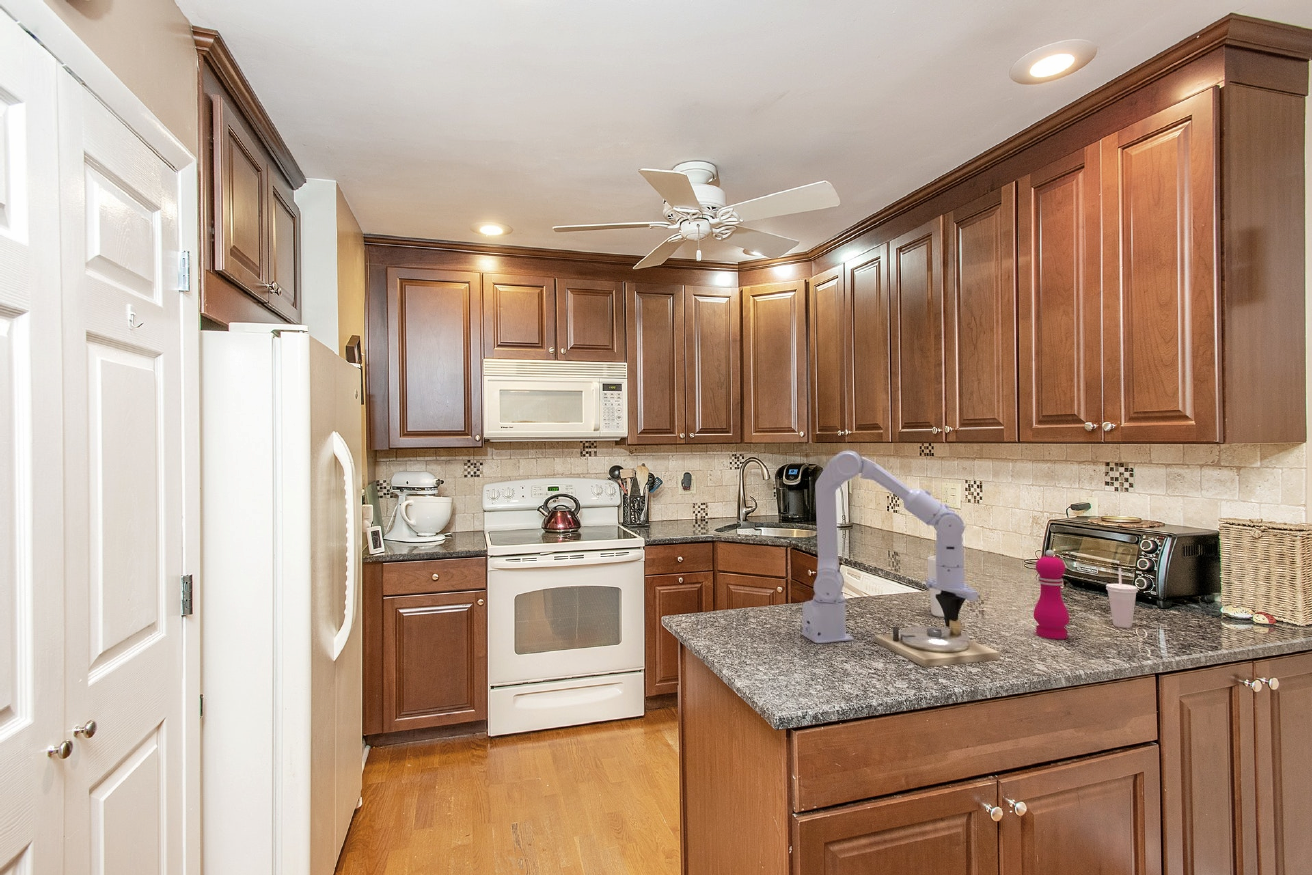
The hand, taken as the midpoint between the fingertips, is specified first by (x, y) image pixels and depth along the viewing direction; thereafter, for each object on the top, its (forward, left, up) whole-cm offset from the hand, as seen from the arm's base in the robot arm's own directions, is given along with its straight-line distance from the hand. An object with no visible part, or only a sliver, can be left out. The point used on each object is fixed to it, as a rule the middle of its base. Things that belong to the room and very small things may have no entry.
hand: (951, 626), depth 147 cm
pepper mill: (+28, +1, -5) cm, 28 cm away
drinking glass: (+16, +24, -5) cm, 29 cm away
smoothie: (+51, +3, -5) cm, 51 cm away
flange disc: (-5, -1, -3) cm, 6 cm away
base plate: (-5, -1, -5) cm, 7 cm away
